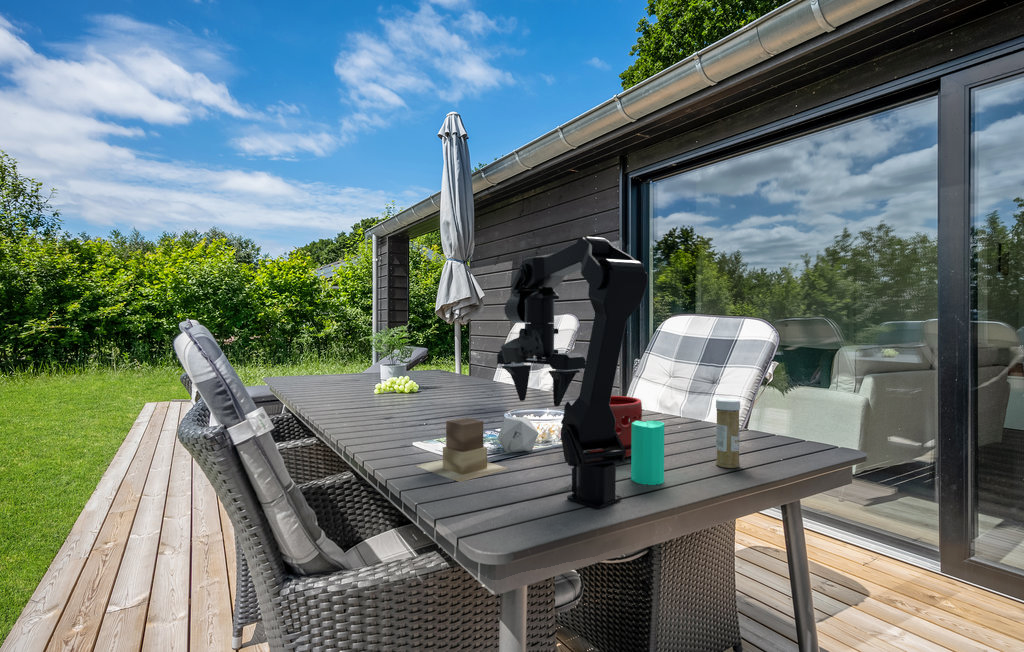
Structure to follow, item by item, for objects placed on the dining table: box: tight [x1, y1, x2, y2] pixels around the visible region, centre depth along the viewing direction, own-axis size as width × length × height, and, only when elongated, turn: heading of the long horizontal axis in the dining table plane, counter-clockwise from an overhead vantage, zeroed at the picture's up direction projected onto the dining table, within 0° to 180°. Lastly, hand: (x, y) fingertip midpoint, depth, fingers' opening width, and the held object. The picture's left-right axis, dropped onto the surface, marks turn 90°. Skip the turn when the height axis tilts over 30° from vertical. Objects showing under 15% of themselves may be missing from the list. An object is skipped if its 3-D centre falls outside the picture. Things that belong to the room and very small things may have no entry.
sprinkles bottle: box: [715, 397, 741, 469], centre depth 107 cm, size 5×5×14 cm
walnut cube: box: [445, 417, 484, 452], centre depth 101 cm, size 5×5×5 cm
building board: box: [415, 458, 510, 483], centre depth 102 cm, size 14×12×1 cm
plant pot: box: [589, 395, 643, 458], centre depth 117 cm, size 13×13×12 cm
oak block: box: [442, 445, 488, 475], centre depth 101 cm, size 6×6×4 cm
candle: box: [630, 420, 665, 486], centre depth 98 cm, size 6×6×12 cm
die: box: [497, 416, 540, 453], centre depth 116 cm, size 8×9×10 cm
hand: (539, 403), depth 104 cm, fingers open, 9 cm apart
